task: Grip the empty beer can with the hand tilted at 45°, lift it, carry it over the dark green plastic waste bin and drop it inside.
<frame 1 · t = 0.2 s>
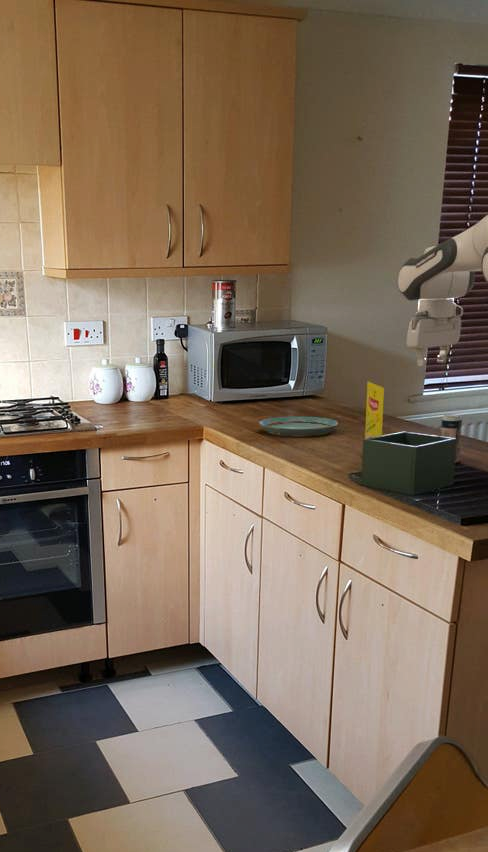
hand: (431, 364, 235), 23 cm above the countertop, tool pointing down, fingers open, 8 cm apart
saucer: (298, 433, 274), on the countertop
food package: (371, 463, 226), on the countertop
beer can: (448, 463, 224), on the countertop
waste bin: (406, 485, 201), on the countertop
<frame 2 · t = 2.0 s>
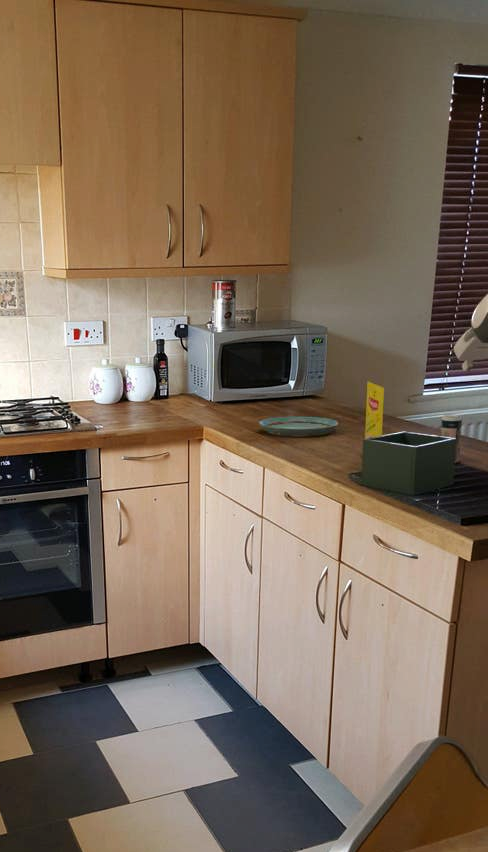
hand: (483, 367, 206), 25 cm above the countertop, tool tilted 45°, fingers open, 8 cm apart
nothing on the countertop moved.
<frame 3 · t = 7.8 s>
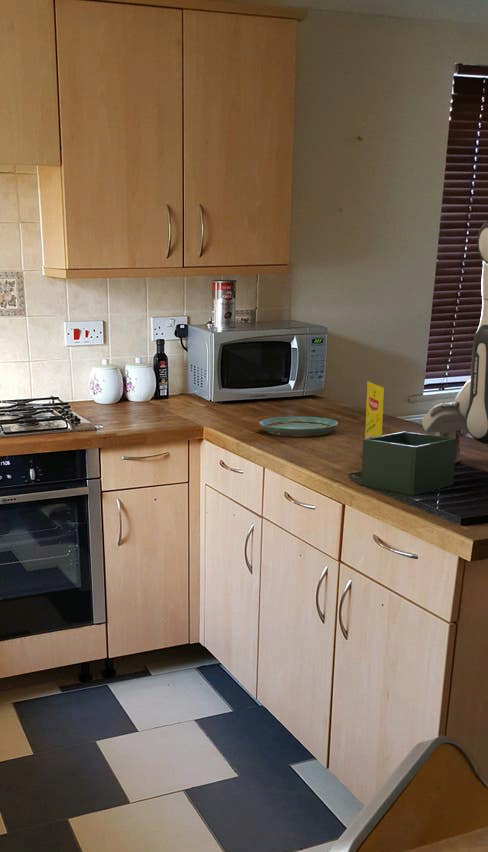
hand: (449, 436, 222), 7 cm above the countertop, tool tilted 45°, fingers closed on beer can, 5 cm apart
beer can: (448, 463, 224), on the countertop, touching gripper
everything else where it was.
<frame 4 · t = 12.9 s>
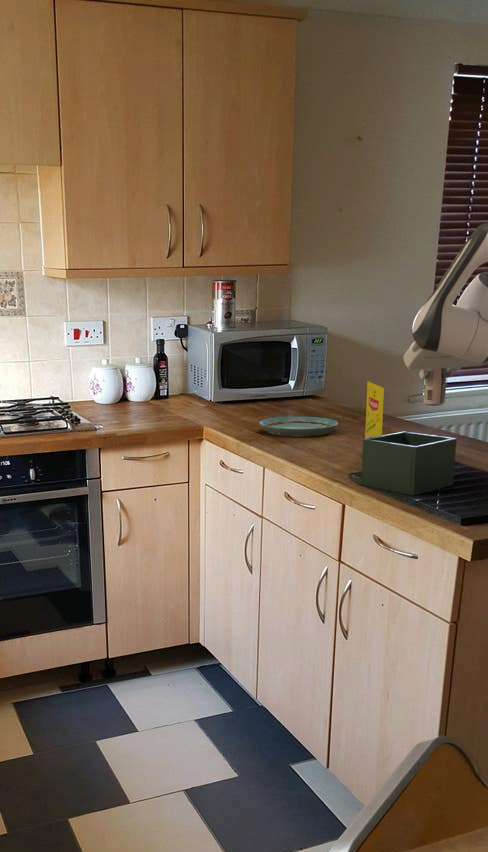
hand: (434, 376, 205), 23 cm above the countertop, tool tilted 45°, fingers closed on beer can, 5 cm apart
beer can: (433, 405, 206), point 16 cm above the countertop, touching gripper
everything else where it was.
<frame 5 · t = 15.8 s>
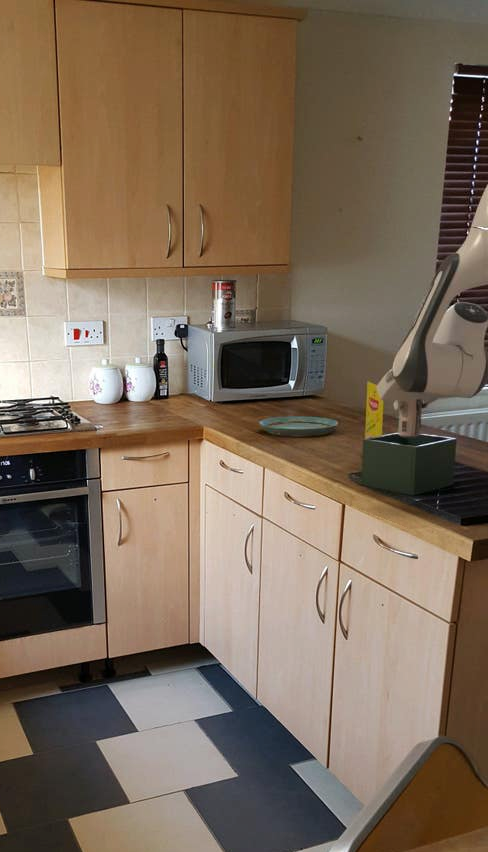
hand: (409, 406, 195), 18 cm above the countertop, tool tilted 45°, fingers closed on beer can, 5 cm apart
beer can: (408, 437, 197), point 11 cm above the countertop, touching gripper
everything else where it was.
when the fingers open (9 cm above the countertop, at t = 18.5 s): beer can drops 2 cm, resting on waste bin.
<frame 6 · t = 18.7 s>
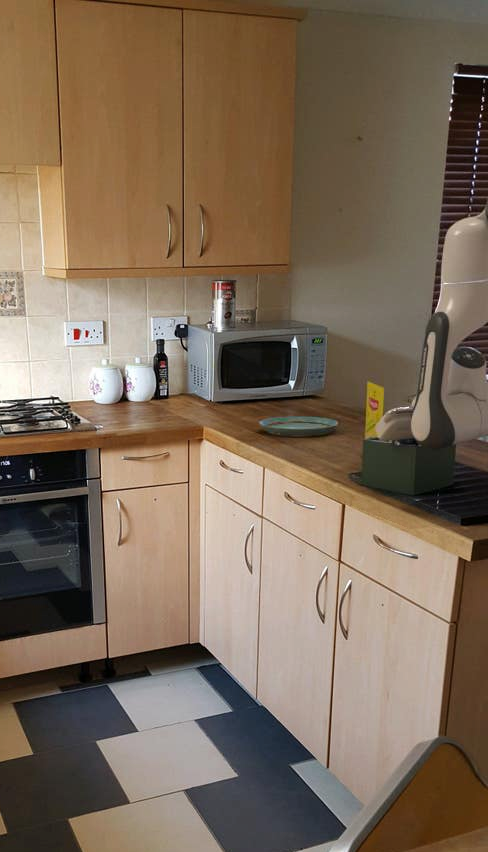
hand: (407, 444, 198), 9 cm above the countertop, tool tilted 45°, fingers open, 7 cm apart
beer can: (407, 483, 200), point 1 cm above the countertop, touching waste bin
everything else where it was.
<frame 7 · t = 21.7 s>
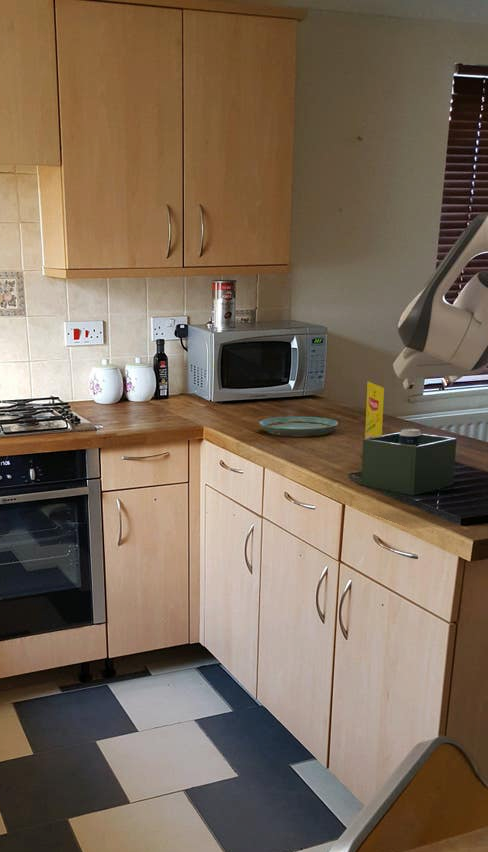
hand: (426, 385, 187), 23 cm above the countertop, tool tilted 45°, fingers open, 8 cm apart
nothing on the countertop moved.
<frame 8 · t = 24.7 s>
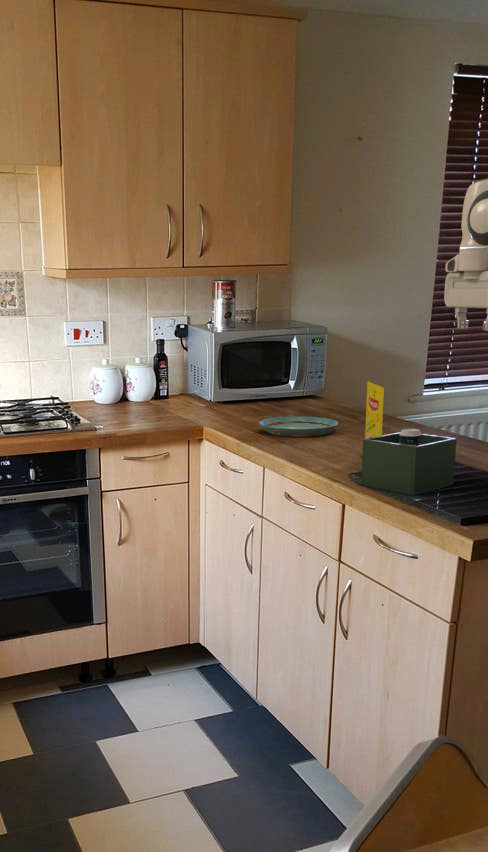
hand: (475, 329, 190), 34 cm above the countertop, tool pointing down, fingers open, 8 cm apart
nothing on the countertop moved.
at the end: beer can inside the target area in the waste bin (0.1 cm from its centre), point 0.6 cm above the waste bin's base; the gripper is holding nothing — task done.
